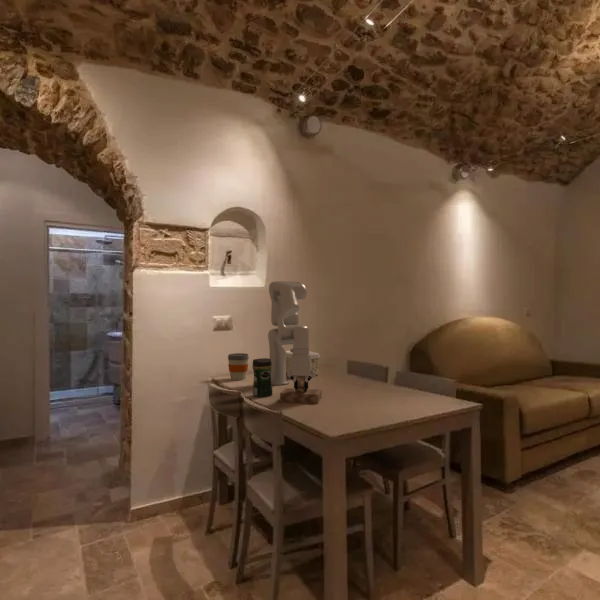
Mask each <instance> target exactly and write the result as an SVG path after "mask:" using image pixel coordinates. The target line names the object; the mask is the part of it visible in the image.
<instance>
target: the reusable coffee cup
mask: <svg viewBox="0 0 600 600" xmlns="http://www.w3.org/2000/svg"><path fill="white" fill-rule="evenodd" d="M249 359H250V358H249V353H241V352H240V353H239V352H237V353H229V354H228V355H227V361H228V365H227V366H228V372H229V374H230V381H244V380H243V379H245V380H246V379H247V372H248V368H249Z"/></svg>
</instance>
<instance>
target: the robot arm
mask: <svg viewBox="0 0 600 600" xmlns="http://www.w3.org/2000/svg"><path fill="white" fill-rule="evenodd" d="M268 293H269V297H270V301H271V307H270V308H271V310H270V311H271V312H270V321H271V324H272V326H274V327H275V328H272V329H270V330H269V331H268V332H267V339H268V344H269V347H268V348H269V349H268V350H269V359H271V363H272V368H271V384H272V386H284V385H288V384H289V383H290V381H289V380H288V379H287V377H289V378H290V379H291V380H292V381H293V389H295V390H297V389H298V388H297V376H305V391H306V390H307V389H309V381H311V380H312V379H313V378H315V377H317V376H316V375H315V373H314V372H313V370H312V363H311V356H310V354H309V352H310V348H309V347H310V332H309V331H310V329H309V327H308V326H306V325H305V324H300V321H299V320H300V316H299V313H298V312H299V311H300V304H299V300H305V299H306V298H307V294H308V290H307V287H306V285H305V284H303V283H302V282H300V281H296V280H295V281H294V280H293V281H291V280H275V281H272V282H270V283H269V285H268ZM284 345H289V346H290V345H292V347H293V348H291V349H289V351H290V352H293V354H292V355H291V362H290V370H289V372H288V373H287V374H286V351H287V350H285V348H284V347H283V346H284ZM311 374H312V375H311ZM310 375H311V376H310ZM308 376H310V377H308ZM283 384H284V385H283Z"/></svg>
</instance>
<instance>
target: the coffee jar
mask: <svg viewBox="0 0 600 600" xmlns="http://www.w3.org/2000/svg"><path fill="white" fill-rule="evenodd" d="M251 368H252V369H253V382H252V395H253V397H259V398H263V397H270V396H272V395H273V385H272V384H271V368H272V363H271V359H270V358H268V357H265V358H263V357H262V358H255V359H253V360H252V367H251Z"/></svg>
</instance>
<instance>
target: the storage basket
mask: <svg viewBox="0 0 600 600" xmlns="http://www.w3.org/2000/svg"><path fill="white" fill-rule="evenodd" d="M285 351H286V373H288V372H289V370H290V362H291V355H292V354H293V352H290V350H285ZM309 354H310V356H311V363H312V370H313V372H314V373H315V375H317V376H318V375H319V367H320V364H319V363H320V360H319V359H320V358H321V356H320V354H319V352H313V351H309ZM311 375H312V374H311ZM311 375H310V376H311Z"/></svg>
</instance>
